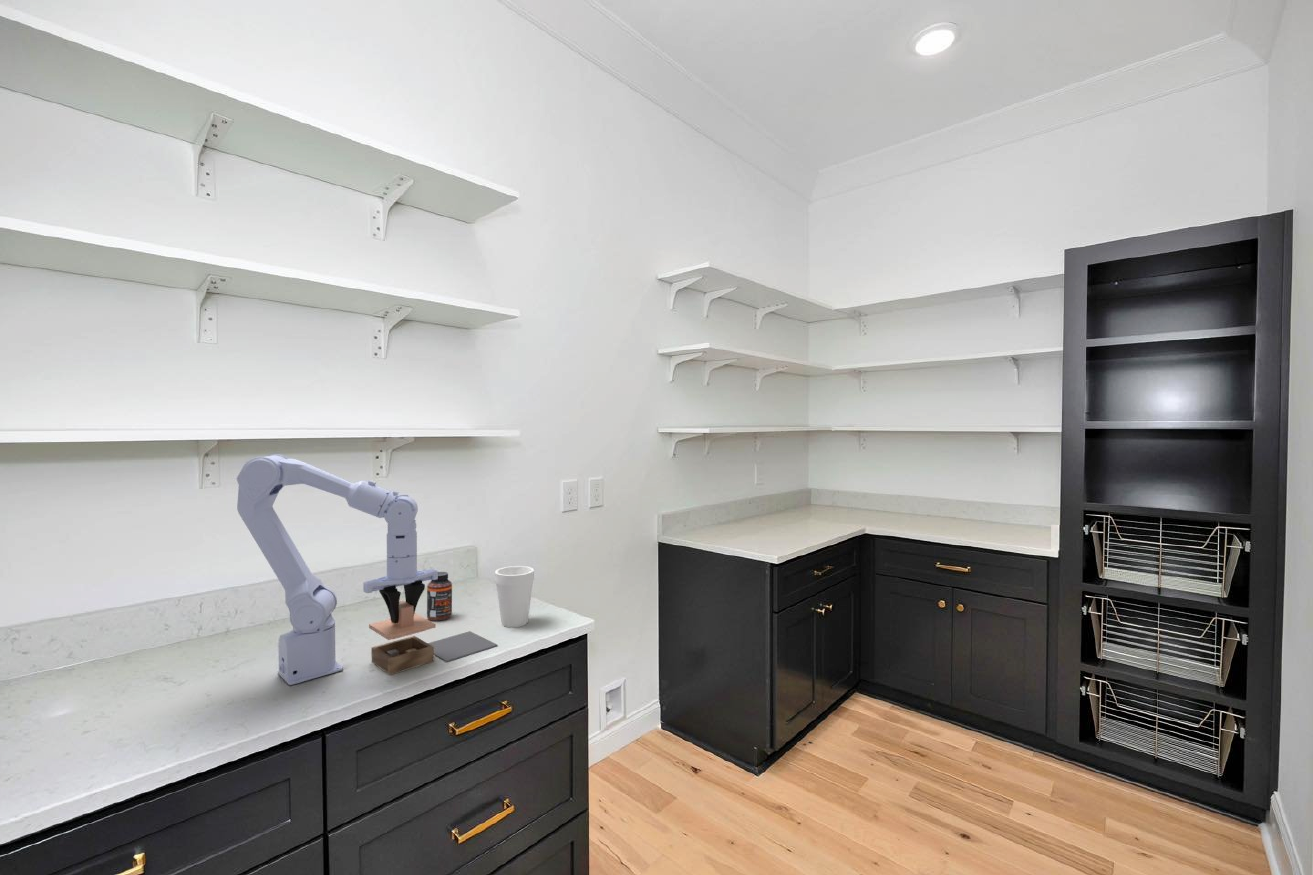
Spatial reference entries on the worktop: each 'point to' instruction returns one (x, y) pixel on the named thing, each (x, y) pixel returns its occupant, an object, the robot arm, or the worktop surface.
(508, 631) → the worktop surface
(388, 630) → the lid
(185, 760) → the worktop surface
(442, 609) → the supplement bottle
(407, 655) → the box
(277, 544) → the robot arm
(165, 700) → the worktop surface
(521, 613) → the foam cup
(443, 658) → the mat
